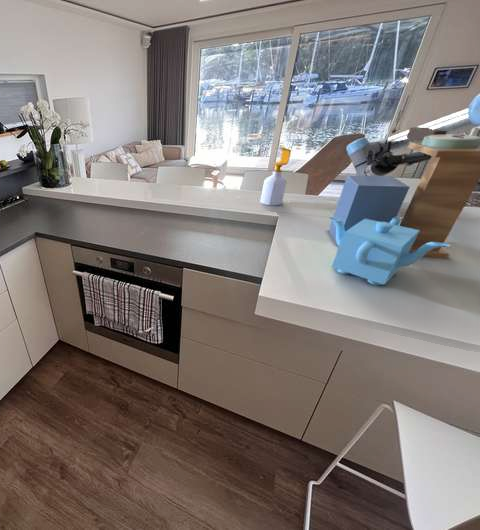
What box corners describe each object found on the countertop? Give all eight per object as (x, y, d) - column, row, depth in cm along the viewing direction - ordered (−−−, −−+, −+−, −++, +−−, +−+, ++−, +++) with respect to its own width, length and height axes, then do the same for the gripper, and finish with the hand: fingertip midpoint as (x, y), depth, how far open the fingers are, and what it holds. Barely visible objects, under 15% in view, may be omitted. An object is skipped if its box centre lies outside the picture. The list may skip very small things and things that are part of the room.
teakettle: (344, 289, 74) (366, 238, 67) (313, 255, 90) (328, 210, 83) (428, 292, 71) (460, 239, 64) (381, 256, 87) (402, 210, 80)
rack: (371, 233, 101) (409, 142, 86) (421, 237, 96) (471, 141, 81) (389, 254, 88) (438, 151, 73) (448, 259, 83) (514, 150, 68)
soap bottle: (255, 201, 136) (266, 146, 124) (271, 198, 139) (283, 144, 126) (269, 207, 129) (281, 149, 117) (286, 204, 131) (299, 146, 119)
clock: (391, 138, 93) (395, 128, 92) (432, 136, 91) (437, 126, 89) (438, 148, 75) (444, 136, 74) (491, 147, 73) (498, 134, 71)
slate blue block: (328, 231, 104) (347, 175, 94) (368, 234, 100) (392, 176, 90) (336, 245, 95) (358, 185, 85) (381, 249, 91) (409, 186, 81)
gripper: (419, 176, 111) (463, 156, 91) (343, 174, 119) (367, 156, 99) (423, 157, 111) (467, 132, 91) (346, 156, 119) (371, 134, 99)
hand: (415, 145), depth 95 cm, fingers open, 13 cm apart
